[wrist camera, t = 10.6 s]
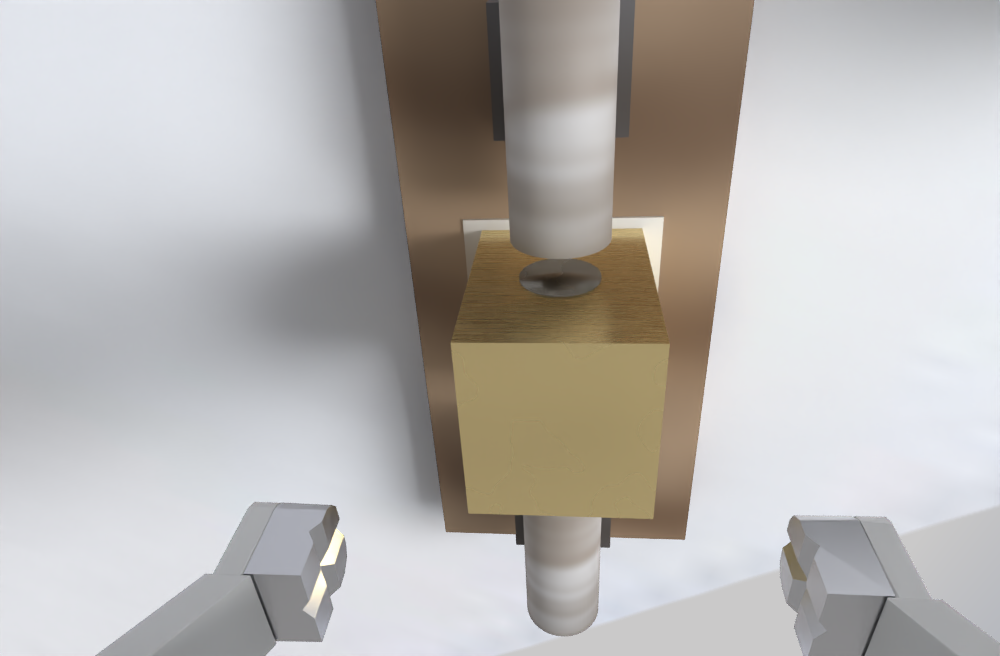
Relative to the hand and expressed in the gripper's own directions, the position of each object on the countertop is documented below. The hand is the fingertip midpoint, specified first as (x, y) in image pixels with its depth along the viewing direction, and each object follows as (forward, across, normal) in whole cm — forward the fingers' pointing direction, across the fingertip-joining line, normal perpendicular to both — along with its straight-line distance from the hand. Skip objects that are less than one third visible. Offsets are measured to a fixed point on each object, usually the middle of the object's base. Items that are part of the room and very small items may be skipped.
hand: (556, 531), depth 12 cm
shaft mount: (+11, 0, +1) cm, 11 cm away
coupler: (+9, 0, +1) cm, 9 cm away
